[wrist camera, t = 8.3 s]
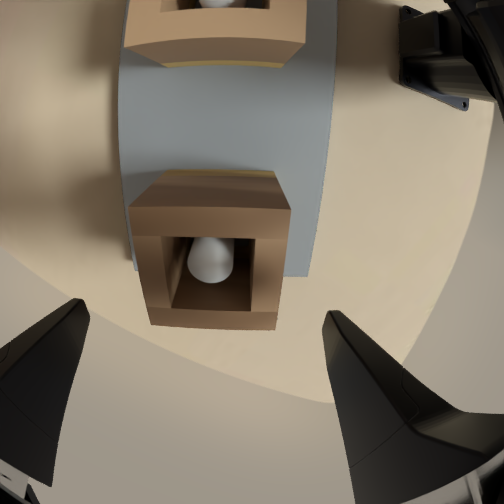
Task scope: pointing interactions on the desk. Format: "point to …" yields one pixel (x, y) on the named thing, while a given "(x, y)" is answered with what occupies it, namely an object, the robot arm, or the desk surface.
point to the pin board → (229, 105)
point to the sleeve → (219, 226)
